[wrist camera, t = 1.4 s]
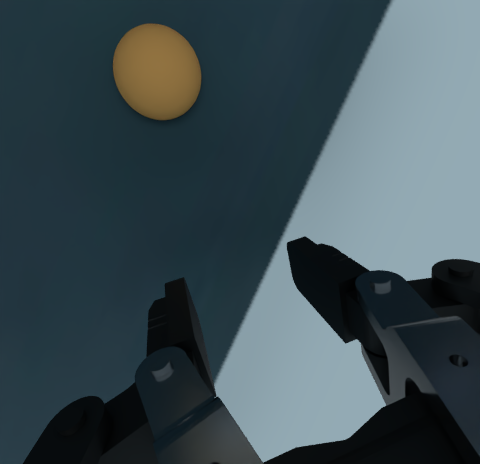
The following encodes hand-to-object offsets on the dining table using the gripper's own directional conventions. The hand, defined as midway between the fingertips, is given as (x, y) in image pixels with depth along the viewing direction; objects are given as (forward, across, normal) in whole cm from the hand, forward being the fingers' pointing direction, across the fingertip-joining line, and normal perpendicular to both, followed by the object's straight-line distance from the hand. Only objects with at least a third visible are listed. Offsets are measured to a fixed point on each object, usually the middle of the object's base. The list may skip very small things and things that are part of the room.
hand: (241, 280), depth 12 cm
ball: (+14, 0, -10) cm, 17 cm away
